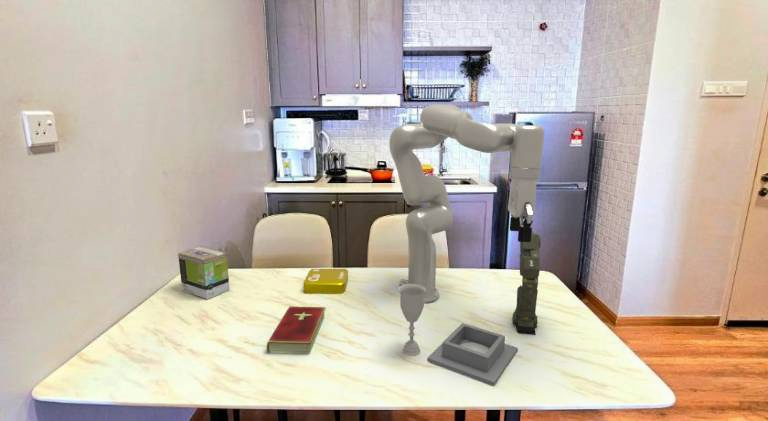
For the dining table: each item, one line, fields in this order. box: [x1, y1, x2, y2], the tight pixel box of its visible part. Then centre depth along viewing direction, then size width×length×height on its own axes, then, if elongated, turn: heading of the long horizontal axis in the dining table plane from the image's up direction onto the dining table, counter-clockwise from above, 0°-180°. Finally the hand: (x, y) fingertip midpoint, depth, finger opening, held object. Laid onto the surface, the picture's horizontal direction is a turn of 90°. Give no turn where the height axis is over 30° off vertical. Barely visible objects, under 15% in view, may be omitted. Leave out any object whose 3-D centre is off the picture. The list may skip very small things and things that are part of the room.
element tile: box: [303, 268, 349, 295], centre depth 156 cm, size 15×15×5 cm
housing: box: [426, 322, 519, 387], centre depth 110 cm, size 18×18×5 cm
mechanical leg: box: [512, 230, 542, 336], centre depth 125 cm, size 14×7×30 cm, turn 168°
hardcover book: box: [266, 305, 327, 354], centre depth 122 cm, size 12×21×4 cm, turn 177°
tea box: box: [177, 246, 230, 300], centre depth 151 cm, size 15×10×15 cm, turn 58°
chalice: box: [398, 284, 426, 357], centre depth 111 cm, size 7×7×18 cm
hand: (519, 236), depth 113 cm, fingers open, 9 cm apart
